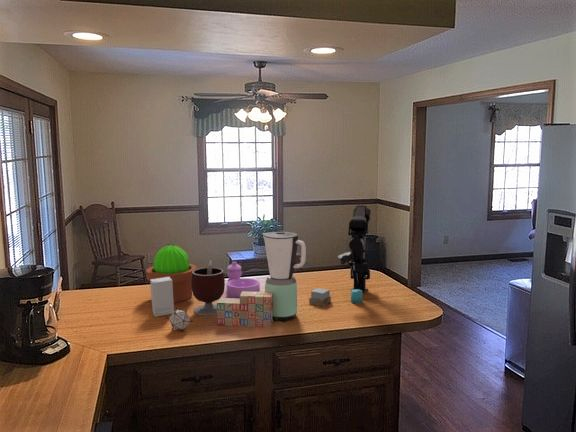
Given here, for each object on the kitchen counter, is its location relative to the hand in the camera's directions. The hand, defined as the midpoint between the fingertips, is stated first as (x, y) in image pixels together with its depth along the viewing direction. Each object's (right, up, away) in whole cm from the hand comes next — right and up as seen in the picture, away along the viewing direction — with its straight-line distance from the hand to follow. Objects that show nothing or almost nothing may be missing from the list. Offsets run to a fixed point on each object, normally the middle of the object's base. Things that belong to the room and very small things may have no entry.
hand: (356, 281), depth 219 cm
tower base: (-16, -10, 0) cm, 19 cm away
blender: (-33, -12, -18) cm, 39 cm away
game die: (-72, -14, -32) cm, 80 cm away
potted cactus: (-84, -9, +8) cm, 85 cm away
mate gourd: (-64, -11, -9) cm, 66 cm away
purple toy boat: (-53, -8, +14) cm, 56 cm away
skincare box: (-83, -12, -14) cm, 85 cm away
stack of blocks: (-48, -14, -25) cm, 55 cm away
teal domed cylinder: (0, -9, +1) cm, 10 cm away
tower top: (-16, -7, 0) cm, 18 cm away
